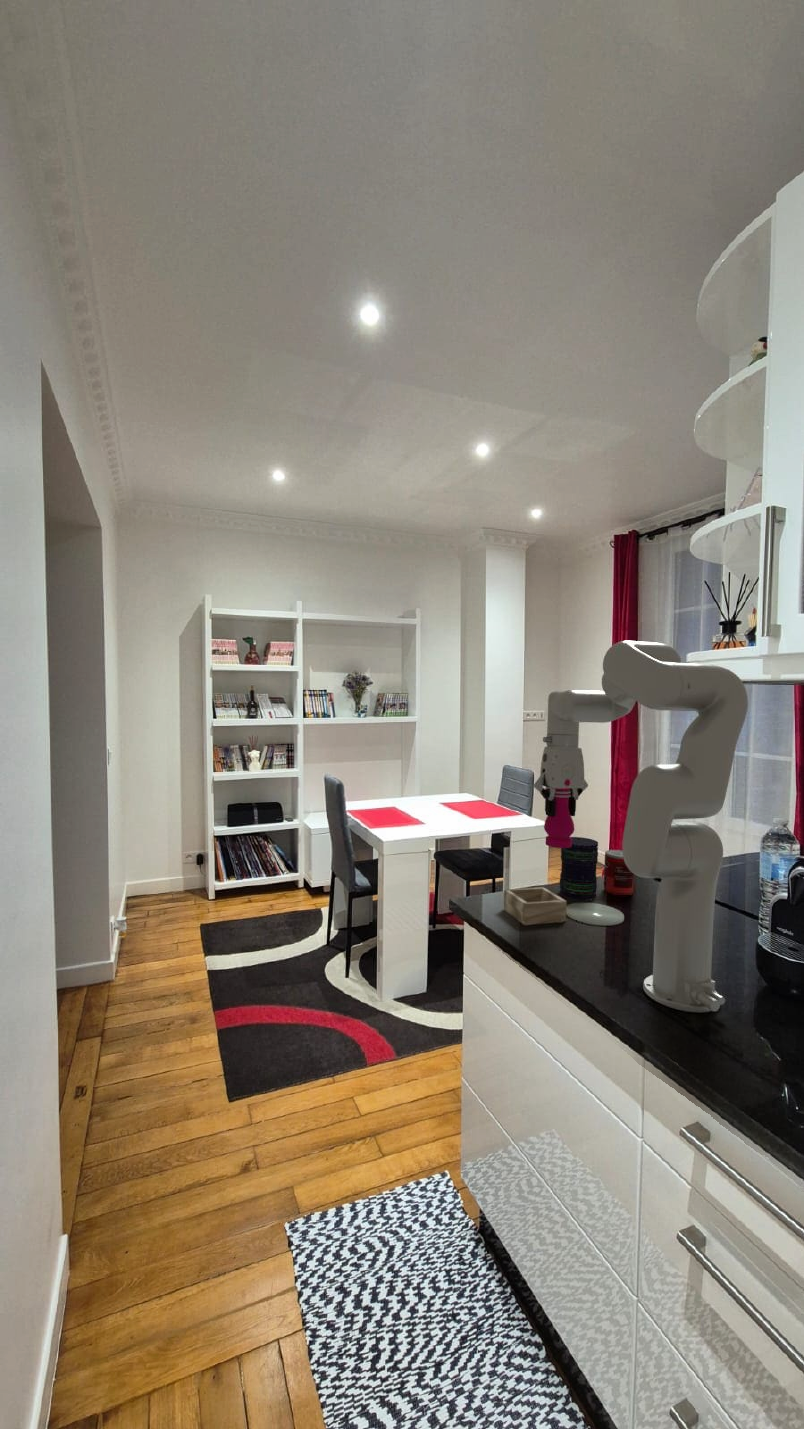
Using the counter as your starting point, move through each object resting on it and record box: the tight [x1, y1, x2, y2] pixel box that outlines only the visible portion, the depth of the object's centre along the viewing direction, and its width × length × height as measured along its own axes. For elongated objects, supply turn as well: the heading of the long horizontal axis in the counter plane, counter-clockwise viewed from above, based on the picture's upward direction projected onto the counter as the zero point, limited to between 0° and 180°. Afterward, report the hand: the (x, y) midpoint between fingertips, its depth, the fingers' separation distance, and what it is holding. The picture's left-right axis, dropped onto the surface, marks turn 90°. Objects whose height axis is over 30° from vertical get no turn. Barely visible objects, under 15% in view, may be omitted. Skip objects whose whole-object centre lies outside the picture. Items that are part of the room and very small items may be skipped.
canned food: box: [603, 849, 635, 896], centre depth 170 cm, size 8×8×11 cm
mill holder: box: [503, 886, 567, 926], centre depth 149 cm, size 11×11×5 cm
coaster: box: [566, 902, 625, 927], centre depth 151 cm, size 14×14×1 cm
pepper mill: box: [543, 779, 575, 849], centre depth 149 cm, size 7×7×20 cm
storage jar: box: [559, 836, 599, 901], centre depth 166 cm, size 10×10×15 cm
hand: (560, 814), depth 149 cm, fingers closed on pepper mill, 5 cm apart
